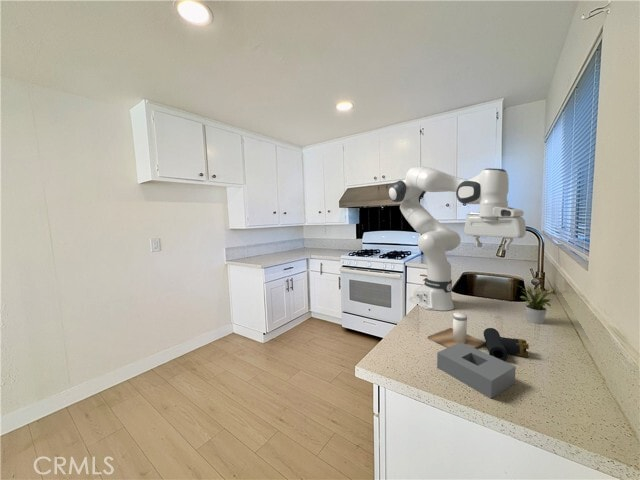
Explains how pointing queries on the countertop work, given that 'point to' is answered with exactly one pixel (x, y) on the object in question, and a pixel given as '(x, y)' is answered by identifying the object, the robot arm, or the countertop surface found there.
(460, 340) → the plug
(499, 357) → the pipe connector
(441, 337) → the pad
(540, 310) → the house plant
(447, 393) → the countertop surface
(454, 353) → the socket block
